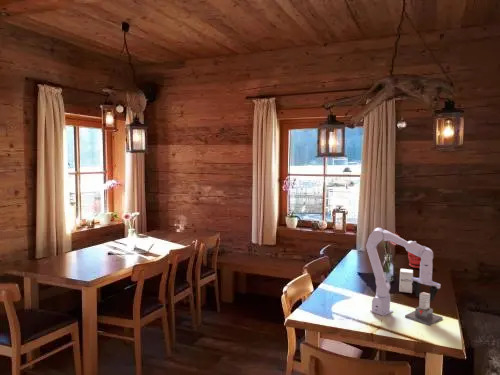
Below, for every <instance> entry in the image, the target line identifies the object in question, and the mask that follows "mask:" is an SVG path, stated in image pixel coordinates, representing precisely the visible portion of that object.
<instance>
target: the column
mask: <svg viewBox="0 0 500 375" xmlns="http://www.w3.org/2000/svg"><path fill="white" fill-rule="evenodd" d="M418 297H419V300H418V301H419V302H418V307H419V309H422V310H425V311H427V310H429V308H430V305H431V304H430V303H431V301H430V292H429V293H428V292H425V291H423V292H420V294H419V296H418Z"/></svg>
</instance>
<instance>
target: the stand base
mask: <svg viewBox="0 0 500 375" xmlns="http://www.w3.org/2000/svg"><path fill="white" fill-rule="evenodd" d="M433 312H434V308H432V307H429V310H427V311H425V310H422V309H419V306H418V307H415V310H414V311H411V312H409V313H407V314H405V315H404V317H405V318H406V319H409V320H412V321H414V322H418V323H421V324H423V325H426V326H429V327H430V326H432V325H434V324H435V323H437V322H439V321H442V320H443V316H441V315H437V314H435V313H433Z"/></svg>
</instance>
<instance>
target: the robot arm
mask: <svg viewBox="0 0 500 375" xmlns="http://www.w3.org/2000/svg"><path fill="white" fill-rule="evenodd" d="M388 241H390V242H393V243H394V244H397V245H399V246H401V247H404V248H405V250H406V252H407V253H408V252H410V253H412V254H414V255H416V256H418V257H421V263H420V268H419V277H415V276H413V277H412V278H411V281H412V289H413V290H414V293H415V297H416V298H418V297H419V296H420V293H421V292H420V291H421V290H420V289H421V284H422V285H425V286H428V287H429V291H430V292H429V294H430V302H434V300H435V297H436V294H437V293H438V291H439V290H440V289H441V283H438V282H435V281H433V266H434V265H433V259H434V251H433V250H432V249H431V248H430V247H427V246H425V245H421V244H419V243H417V241H416V240H414V241H413V240H408V241H407V240H406V239H404V238H402V237H400V236H399V235H397V234H395V233H393V232H391V231H389V230H387V229H383V227H375V228H374V229H373V230H372V232H371V233H370V234H369V236H368V238H367V241H366V244H365V249H366V251H367V254H368V258H369V259H368V260H369V262H370V265H371V268H372V272H373V275H374V278H375V285H376V289H375V296H374V297H373V298H372V300H371V309H370V312H371V313H374V314H376V315H380V316H381V317H384V316H387V315H389V314H391V313H393V312H394V310H392V309H391V293H390V290H391V283H390V282H389V281H388V278H387V277H386V275H385V272H384V269H383V266H382V262H381V260H380V257H379V253H378V250H377V249H378V248H377V246H378V245H379V243H381V242H388ZM416 256H415V257H416Z"/></svg>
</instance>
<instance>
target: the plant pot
mask: <svg viewBox="0 0 500 375" xmlns="http://www.w3.org/2000/svg"><path fill="white" fill-rule="evenodd" d="M407 256H408V262H409V263H408V265H409V267H412V268H415V269H420V263H421V257H418V256H416V255H414V254H412V253H410V252H408V251H407Z"/></svg>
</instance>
